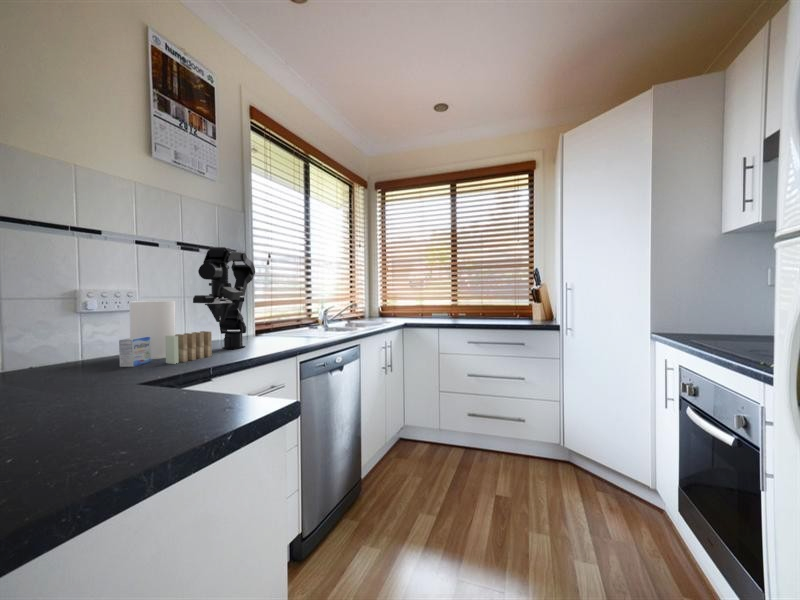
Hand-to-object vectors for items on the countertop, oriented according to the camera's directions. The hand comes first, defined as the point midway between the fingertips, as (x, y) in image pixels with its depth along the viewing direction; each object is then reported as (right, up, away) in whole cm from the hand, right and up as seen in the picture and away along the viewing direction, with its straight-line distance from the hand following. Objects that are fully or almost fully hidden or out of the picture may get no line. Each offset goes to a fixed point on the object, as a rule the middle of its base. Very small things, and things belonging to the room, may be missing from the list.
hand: (220, 321), depth 135 cm
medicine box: (-17, -13, -20) cm, 29 cm away
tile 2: (-4, -12, -9) cm, 15 cm away
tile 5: (-7, -13, -18) cm, 23 cm away
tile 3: (-5, -12, -12) cm, 18 cm away
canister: (-22, -12, -5) cm, 25 cm away
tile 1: (-2, -12, -6) cm, 14 cm away
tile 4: (-6, -12, -15) cm, 20 cm away
